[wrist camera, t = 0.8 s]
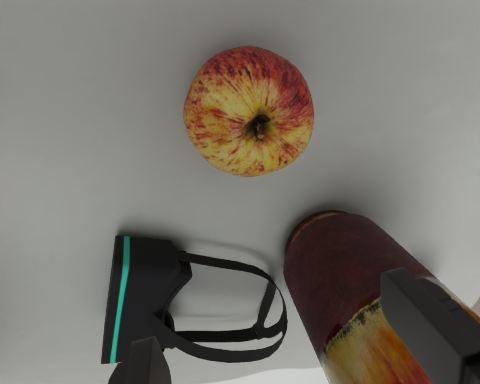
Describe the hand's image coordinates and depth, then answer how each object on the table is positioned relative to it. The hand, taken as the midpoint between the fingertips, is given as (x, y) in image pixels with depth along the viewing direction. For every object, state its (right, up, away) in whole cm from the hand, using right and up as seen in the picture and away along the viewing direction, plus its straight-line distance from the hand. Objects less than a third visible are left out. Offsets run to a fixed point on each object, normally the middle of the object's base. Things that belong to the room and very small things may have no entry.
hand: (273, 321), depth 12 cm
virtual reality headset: (-6, -5, +25) cm, 26 cm away
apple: (-1, +12, +18) cm, 22 cm away
